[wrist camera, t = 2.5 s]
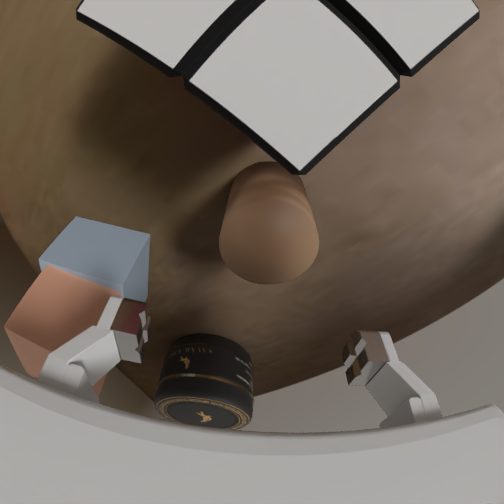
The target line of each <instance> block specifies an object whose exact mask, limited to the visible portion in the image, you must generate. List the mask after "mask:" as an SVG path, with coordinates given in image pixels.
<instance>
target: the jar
mask: <svg viewBox="0 0 504 504" xmlns="http://www.w3.org/2000/svg"><path fill="white" fill-rule="evenodd" d="M253 377H254V372H253V366H252V363H251V359H250V357H249V355H248V353H247V352H246V351H245V350H244V349H243V348H242V347H241V346H240V345H239V344H237V343H235V342H234V341H232V340H230V339H227V338H224V337H221V336H217V335H210V334H195V335H189V336H186V337H184V338H182V339H180V340H178V341H176V342H175V343H174V344H173V345H172V347H171V348H170V350H169V352H168V353H167V355H166V357H165V360H164V364H163V368H162V372H161V376H160V380H159V383H158V385H157V390H156V395H155V401H154V403H155V408H156V410H157V411H158V412H159V413H160V414H161V415H162V416H163V417H165V418H166V419H168V420H170V421H173V422H179V423H185V424H191V425H198V426H205V427H213V428H221V429H231V430H237V429H240V428H242V427H244V426H246V425H247V424H248V423H249V422H250V421H251V418H252V412H253V405H254V398H253Z"/></svg>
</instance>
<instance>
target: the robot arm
mask: <svg viewBox="0 0 504 504" xmlns="http://www.w3.org/2000/svg"><path fill="white" fill-rule="evenodd" d="M149 312H150V304H149V303H146V302H141V301H137V300H133V299H128V298H123V297H119V296H115V295H112V296H111V297H110V298H109V300H108V302H107V304H106V306H105V309H104V311H103V313H102V315H101V317H100V319H99V321H98V324H97V326H91V327H90V328H88V329H87V330H85V331H84V332H82V333H81V334H79V335H77V336H76V337H74V338H73V339H71V340H70V341H68V342H67V343H65V344H64V345H62V346H61V347H59V348H58V349H56V350H55V351H53V352H52V353H50V354H49V355H48V357H47V359H46V362H45V364H44V366H43V368H42V370H41V373H40V375H39V377H38V380H37V381H35V380H32V379H30V378H28V377H26V376H23V375H21V374H19V373H17V372H15V371H12V370H11V369H9V368H6V367H5V366H3V365H1V364H0V504H504V413H503V412H502V411H501V410H500V409H499V408H497V407H496V406H495V405H493V404H489V405H485V406H482V407H479V408H475V409H472V410H468V411H465V412H461V413H457V414H453V415H449V416H445V417H442V414H441V411H440V408H439V405H438V402H437V399H436V396H435V394H434V393H433V392H432V391H431V390H430V389H429V388H428V387H427V386H426V385H425V384H424V383H423V382H422V381H421V380H420V379H419V378H418V377H417V376H416V375H415V374H414V373H413V372H412V371H411V370H410V369H409V368H408V367H407V366H406V365H405V364H404V363H403V362H399V359H398V356H397V353H396V350H395V347H394V345H393V342H392V339H391V337H390V334H389V333H388V332H379V331H362V330H357V331H355V332H354V333H353V334H352V340H351V341H349V342H347V344H346V345H345V347H344V350H343V362H344V364H345V365H346V366H347V368H348V369H347V371H346V376H347V381H348V385H354V386H358V385H359V386H360V385H361V386H365V387H366V388H367V389H368V391H369V392H370V393H371V395H372V396H373V397H374V399H375V400H376V401H377V403H378V404H379V405H380V407H381V408H382V409H383V411H384V412H385V413H386V415H387V416H388V417H387V418H386V419H385V420H383V421H382V422H381V423H380V425H379V426H380V428H375V429H366V430H355V431H341V432H319V433H278V432H277V433H276V432H256V431H241V430H231V429H221V428H213V427H205V426H198V425H191V424H185V423H179V422H173V421H168V420H162V419H157V418H153V417H148V416H143V415H139V414H135V413H131V412H127V411H123V410H119V409H116V408H112V407H108V406H104V405H101V404H99V401H100V400H99V398H98V396H97V395H96V393H95V391H94V389H93V387H92V386H93V385H94V384H95V383H97V382H98V381H99V380H100V379H101V378H102V377H103V376H104V375H105V374H106V373H108V372H109V371H110V370H111V369H112V368H113V367H114V366H115V365H116V364H117V363H119V362H120V361H121V359H122V360H127V361H131V362H136V363H142V359H143V356H144V353H145V342H147V341H148V339H149V335H150V330H151V317H150V316H149Z"/></svg>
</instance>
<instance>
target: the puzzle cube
mask: <svg viewBox="0 0 504 504" xmlns="http://www.w3.org/2000/svg"><path fill="white" fill-rule="evenodd" d="M76 16H77V20H79V21H81V22H82V23H84V24H86V25H88V26H90V27H91V28H93V29H95V30H97V31H98V32H100V33H102V34H103V35H105V36H107V37H109V38H110V39H112V40H114V41H115V42H117V43H118V44H120V45H122V46H123V47H125V48H126V49H128V50H130V51H131V52H133V53H134V54H136V55H138V56H139V57H141V58H142V59H144V60H145V61H147V62H148V63H150V64H151V65H153V66H154V67H156V68H157V69H159V70H160V71H162V72H163V73H165V74H166V75H167V76H169V77H173V76H181V75H183V77H184V85H185V89H186V90H187V91H189V92H190V93H191V94H193V95H194V96H195V97H197V98H198V99H199V100H201V101H202V102H203V103H205V104H206V105H207V106H209V107H210V108H211V109H213V110H214V111H215V112H217V113H218V114H219V115H220V116H222V117H223V118H224V119H226V120H227V121H228V122H229V123H231V124H232V125H233V126H234V127H236V128H237V129H238V130H239V131H241V132H242V133H243V134H244V135H246V136H247V137H248V138H249V139H250V140H252V141H253V142H254V143H255V144H257V145H258V146H259V147H260V148H261V149H262V150H264V151H265V152H266V153H267V154H268V155H270V156H271V157H272V158H273V159H274V160H275V161H277V162H278V163H279V164H280V165H281V166H282V167H283V168H285V169H286V170H287V171H288V172H289V173H290V174H291V175H306V174H307V173H308V172H309V171H310V170H311V169H312V168H313V167H314V166H315V165H316V164H317V163H318V162H319V161H321V160H322V159H323V158H324V157H325V156H326V155H327V154H328V153H329V152H330V151H331V150H332V149H333V148H334V147H336V146H337V145H338V144H339V143H340V142H341V141H342V140H343V139H344V138H345V137H346V136H347V135H348V134H350V133H351V132H352V131H353V130H354V129H355V128H356V127H357V126H358V125H359V124H360V123H362V122H363V121H364V120H365V119H366V118H367V117H368V116H369V115H370V114H371V113H372V112H374V111H375V110H376V109H377V108H378V107H379V106H380V105H381V104H382V103H383V102H385V101H386V100H387V99H388V98H389V97H390V96H391V95H392V94H393V93H394V92H396V91H397V90H398V89H399V88H400V75H404V76H410V77H412V76H413V75H415V74H416V73H417V72H418V71H419V70H420V69H421V68H422V67H424V66H425V65H426V64H427V63H428V62H429V61H430V60H432V59H433V58H434V57H435V56H436V55H437V54H438V53H440V52H441V51H442V50H443V49H444V48H445V47H446V46H448V45H449V44H450V43H451V42H452V41H453V40H454V39H456V38H457V37H458V36H459V35H460V34H461V33H463V32H464V31H465V30H466V29H467V28H468V27H470V26H471V25H472V24H473V23H474V22H476V21H477V20H478V19H479V9H478V7H477V6H476V4H475V3H474V1H473V0H82V1H81V2H80V4H79V5H78V7H77V8H76Z"/></svg>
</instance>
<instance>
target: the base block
mask: <svg viewBox="0 0 504 504" xmlns="http://www.w3.org/2000/svg"><path fill="white" fill-rule="evenodd" d="M149 247H150V234H147V233H143V232H139V231H134V230H130V229H126V228H122V227H118V226H113V225H109V224H105V223H101V222H97V221H92V220H88V219H84V218H80V217H75V218H74V219H73V220H72V221H71V223H70V224H69V225H68V226H67V227H66V228H65V229H64V230H63V231H62V232H61V233H60V235H59V236H58V237H57V238H56V239H55V240H54V241H53V243H52V244H51V245H50V246H49V247H48V248H47V250H46V251H45V252H44V253H43V254H42V256H41V257H40V258H39V263H40V267H41V271H43V269H44V268H45V267H46V265H47V264H48V265H51V266H53V267H55V268H58V269H60V270H63V271H65V272H68V273H70V274H73V275H75V276H78V277H80V278H83V279H85V280H88V281H91V282H93V283H96V284H99V285H101V286H104V287H107V288H109V289H112V290H115V291H118V292H120V293H121V297H123V298H128V299H133V300H137V301H141V302H145V301H146V299H147V296H148V267H149Z"/></svg>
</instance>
